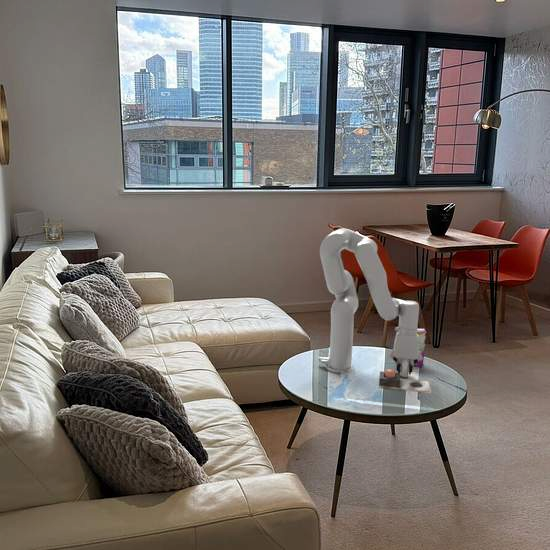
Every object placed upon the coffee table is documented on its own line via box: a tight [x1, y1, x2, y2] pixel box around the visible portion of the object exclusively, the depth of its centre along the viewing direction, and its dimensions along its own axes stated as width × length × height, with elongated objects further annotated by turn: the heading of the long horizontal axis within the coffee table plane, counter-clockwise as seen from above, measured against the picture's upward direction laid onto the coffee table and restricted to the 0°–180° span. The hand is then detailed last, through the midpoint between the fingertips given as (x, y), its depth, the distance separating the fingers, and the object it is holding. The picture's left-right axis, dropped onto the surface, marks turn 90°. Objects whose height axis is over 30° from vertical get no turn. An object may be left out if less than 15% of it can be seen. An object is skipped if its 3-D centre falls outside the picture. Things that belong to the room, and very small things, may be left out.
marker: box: [400, 358, 409, 378], centre depth 241 cm, size 3×3×11 cm
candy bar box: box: [400, 327, 427, 368], centre depth 257 cm, size 11×5×16 cm, turn 84°
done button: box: [384, 368, 396, 378], centre depth 233 cm, size 4×4×4 cm
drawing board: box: [378, 371, 432, 394], centre depth 232 cm, size 20×12×4 cm, turn 79°
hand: (404, 372), depth 242 cm, fingers open, 3 cm apart
